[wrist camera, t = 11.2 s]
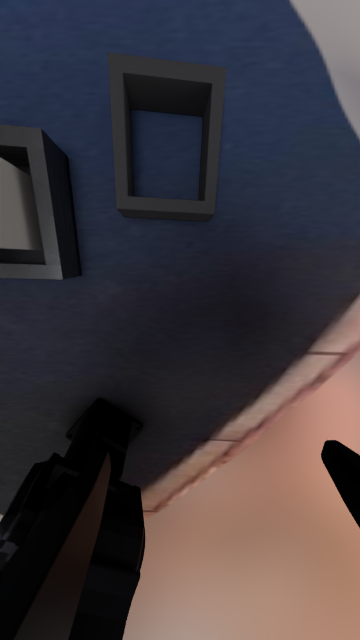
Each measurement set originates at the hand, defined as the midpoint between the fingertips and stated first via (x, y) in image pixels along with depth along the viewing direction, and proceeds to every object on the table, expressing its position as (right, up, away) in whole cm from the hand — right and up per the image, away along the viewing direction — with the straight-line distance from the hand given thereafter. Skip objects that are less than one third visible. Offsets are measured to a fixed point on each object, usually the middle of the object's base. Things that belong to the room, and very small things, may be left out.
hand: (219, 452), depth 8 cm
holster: (-3, +18, +8) cm, 20 cm away
